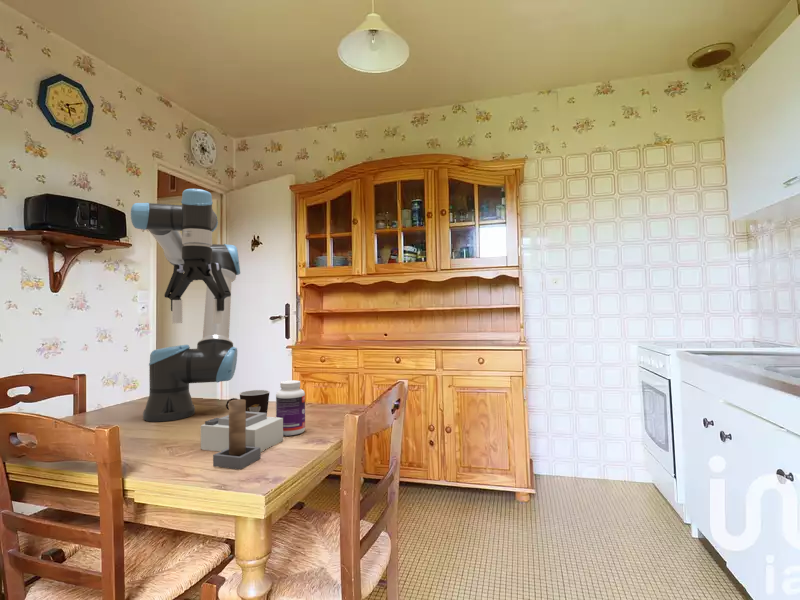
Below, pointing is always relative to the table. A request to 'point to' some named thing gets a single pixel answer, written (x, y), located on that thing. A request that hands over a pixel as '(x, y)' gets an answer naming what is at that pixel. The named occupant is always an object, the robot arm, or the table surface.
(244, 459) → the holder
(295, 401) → the pill bottle
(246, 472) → the table surface
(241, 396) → the coffee mug
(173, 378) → the robot arm
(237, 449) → the dowel
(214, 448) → the white pedestal box
